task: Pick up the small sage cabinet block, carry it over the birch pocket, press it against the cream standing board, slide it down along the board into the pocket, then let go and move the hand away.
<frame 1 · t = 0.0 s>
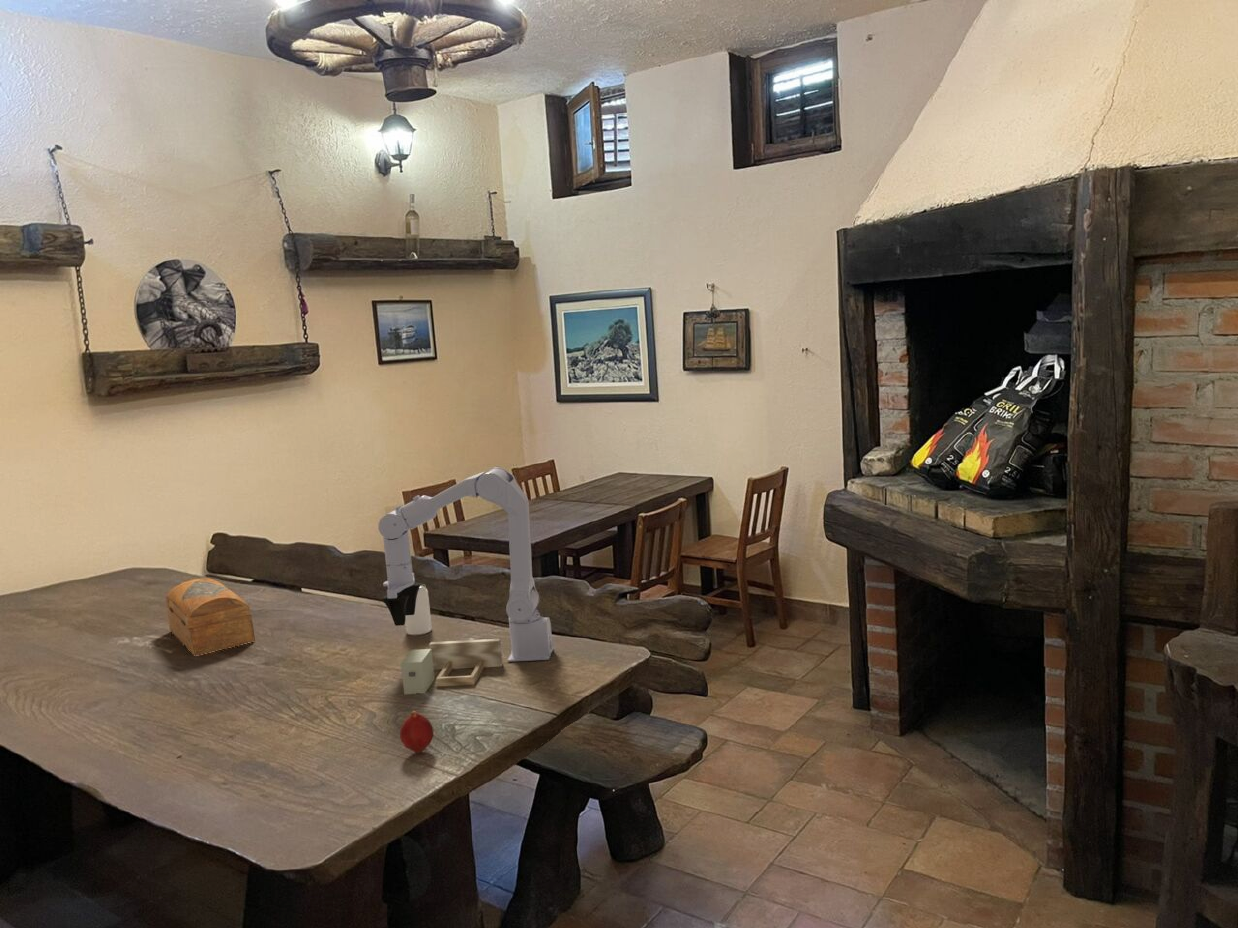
hand: (405, 619, 209), 10 cm above the table, tool pointing down, fingers open, 7 cm apart
wall board: (462, 674, 200), on the table
onion: (419, 753, 162), on the table
wooden box: (213, 638, 242), on the table
can: (419, 632, 233), on the table
cabinet block: (419, 686, 195), on the table
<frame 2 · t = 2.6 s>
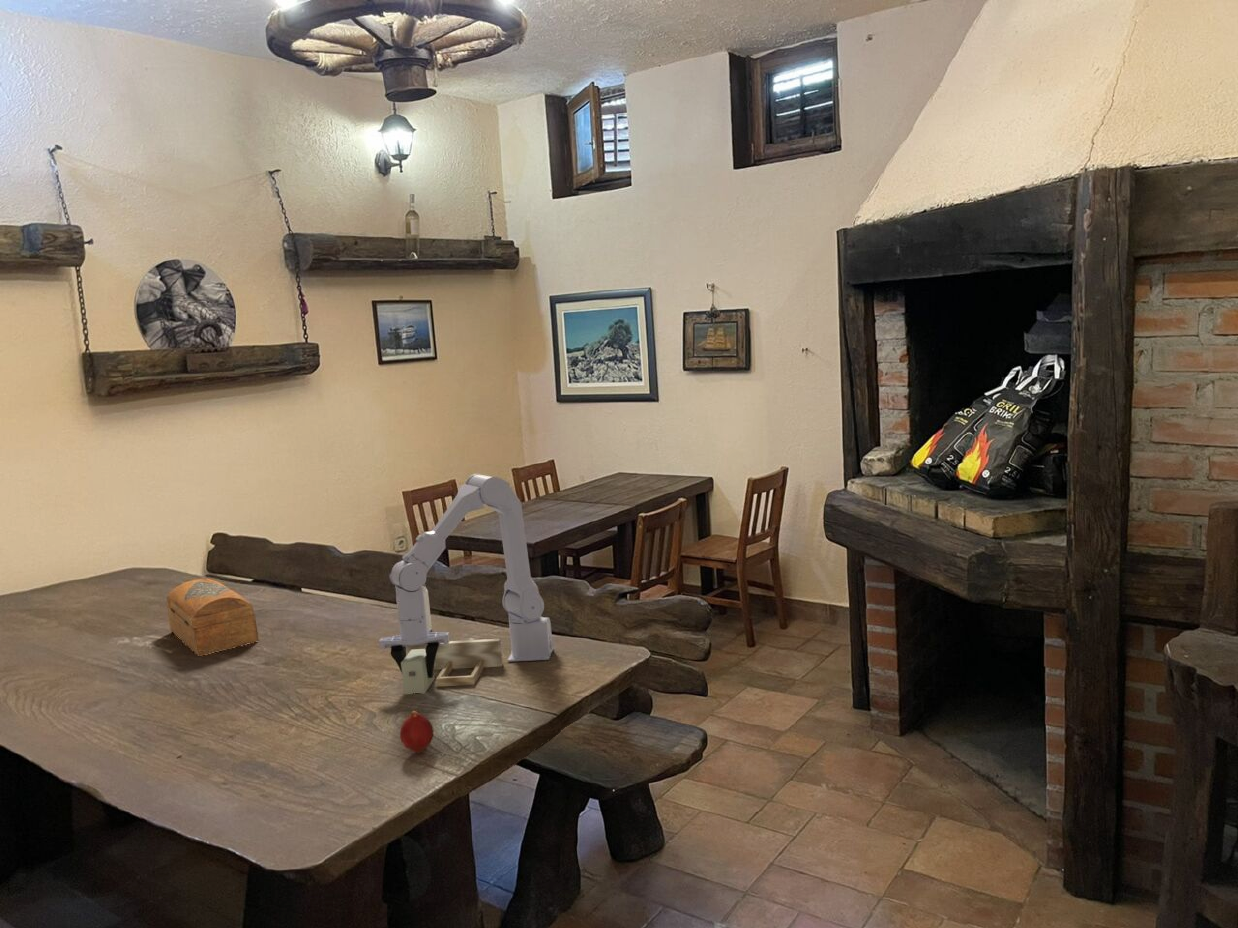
hand: (418, 677, 194), 2 cm above the table, tool pointing down, fingers closed on cabinet block, 5 cm apart
cabinet block: (419, 686, 195), on the table, touching gripper
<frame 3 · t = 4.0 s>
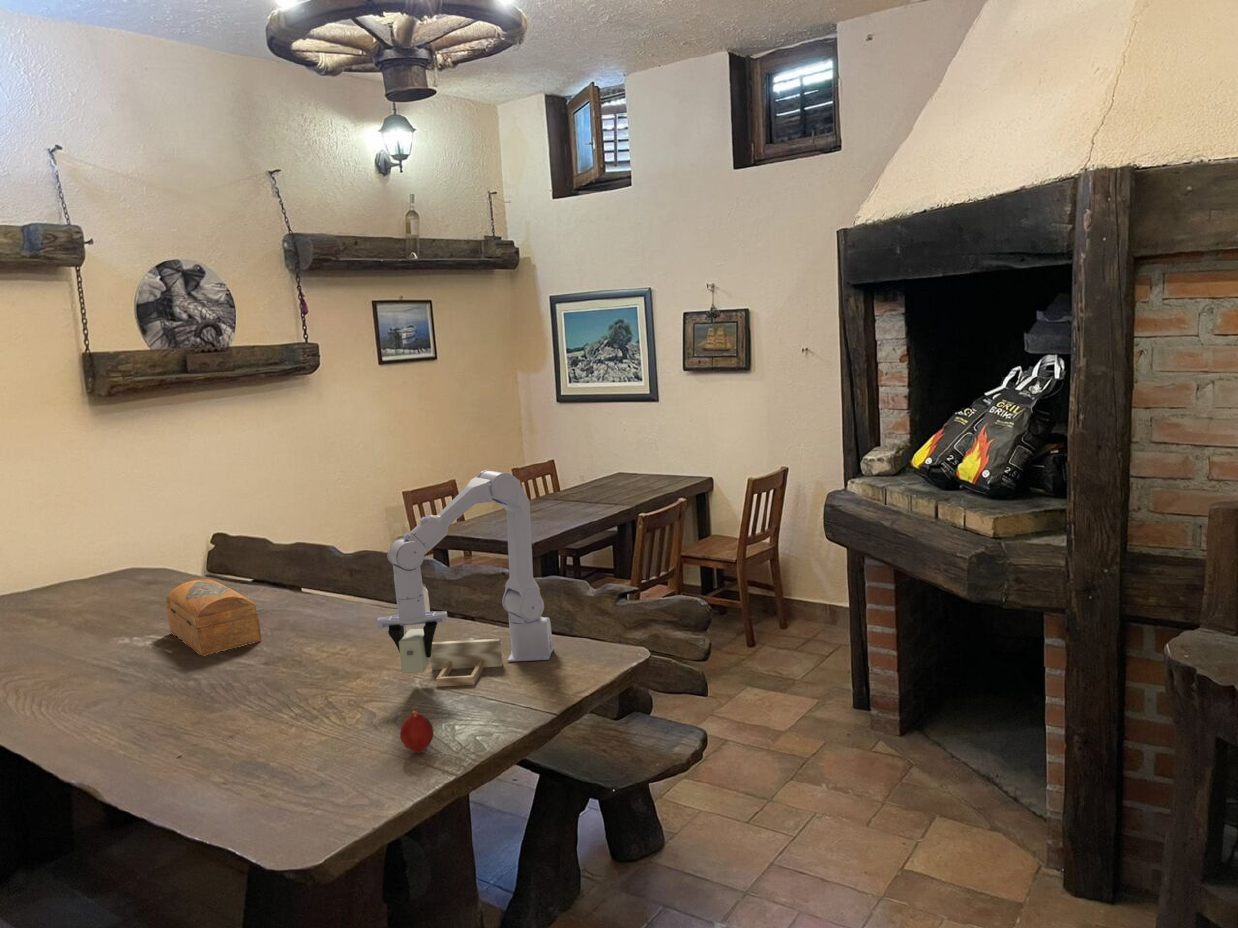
hand: (416, 656, 194), 7 cm above the table, tool pointing down, fingers closed on cabinet block, 5 cm apart
cabinet block: (417, 666, 194), point 5 cm above the table, touching gripper
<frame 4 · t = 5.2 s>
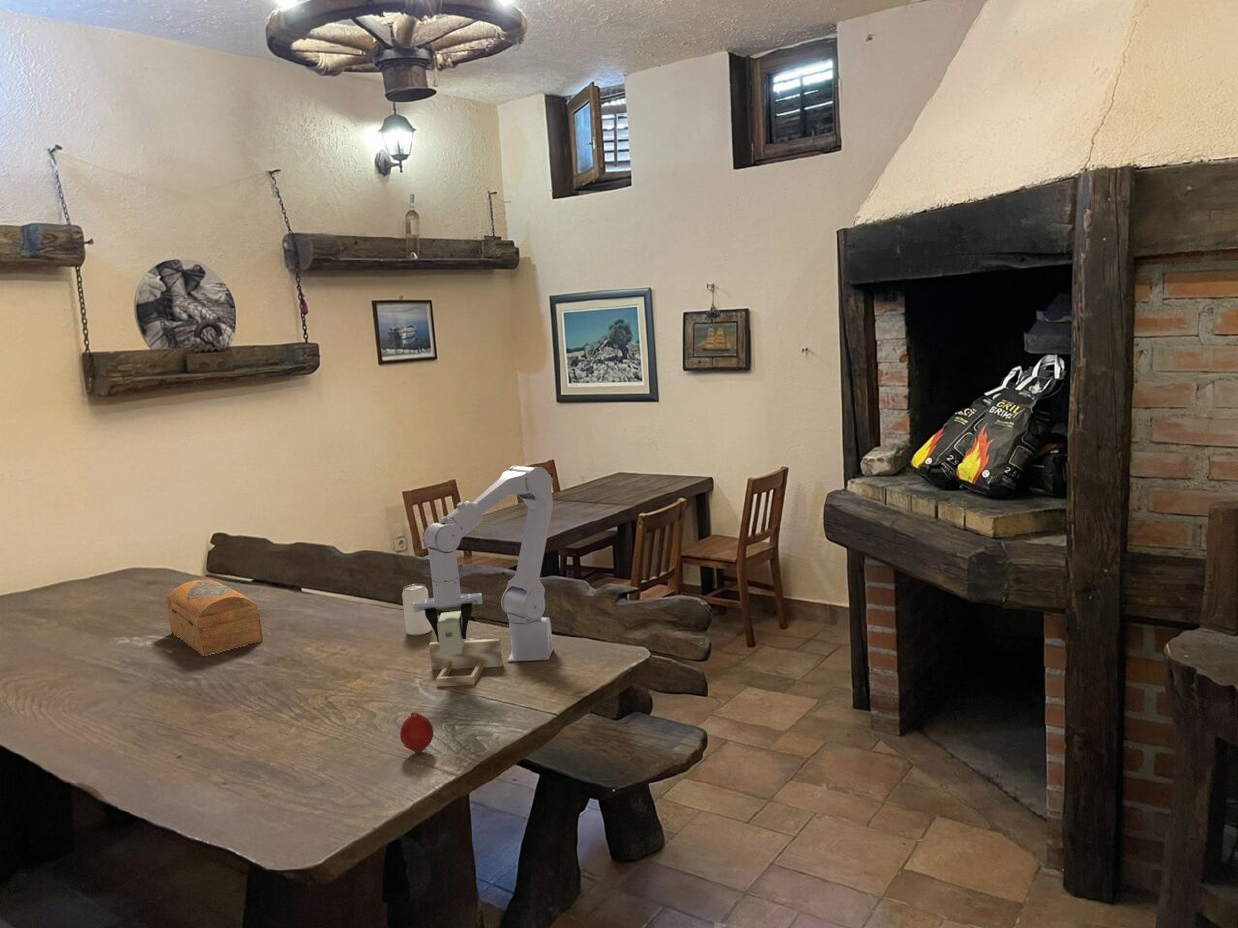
hand: (451, 639, 195), 9 cm above the table, tool pointing down, fingers closed on cabinet block, 5 cm apart
cabinet block: (452, 648, 195), point 7 cm above the table, touching gripper
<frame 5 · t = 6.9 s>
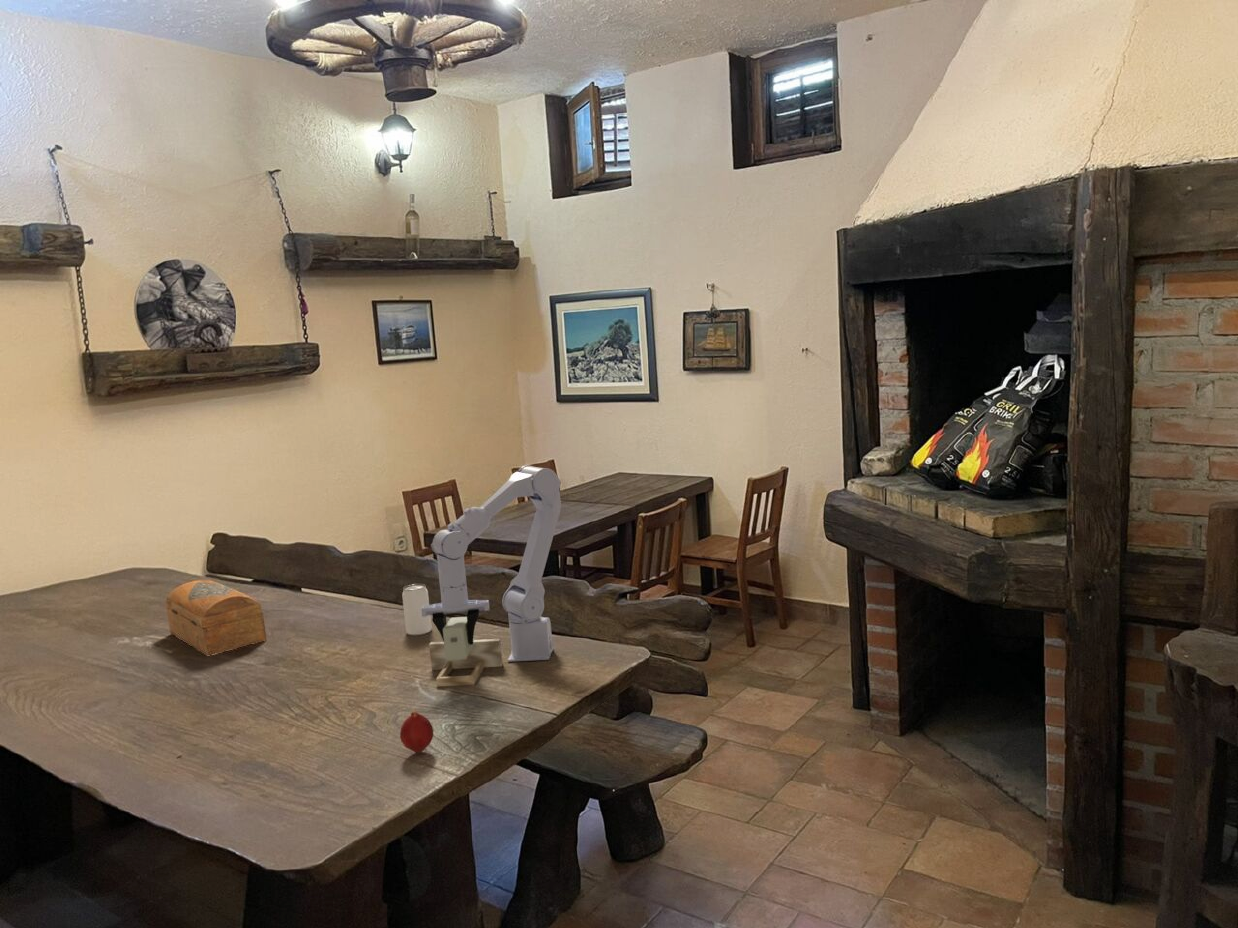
hand: (459, 644, 199), 7 cm above the table, tool pointing down, fingers closed on cabinet block, 5 cm apart
cabinet block: (460, 653, 199), point 5 cm above the table, touching gripper, wall board
when the fingers open (3 cm above the table, at t = 8.3 s): cabinet block drops 1 cm, resting in wall board.
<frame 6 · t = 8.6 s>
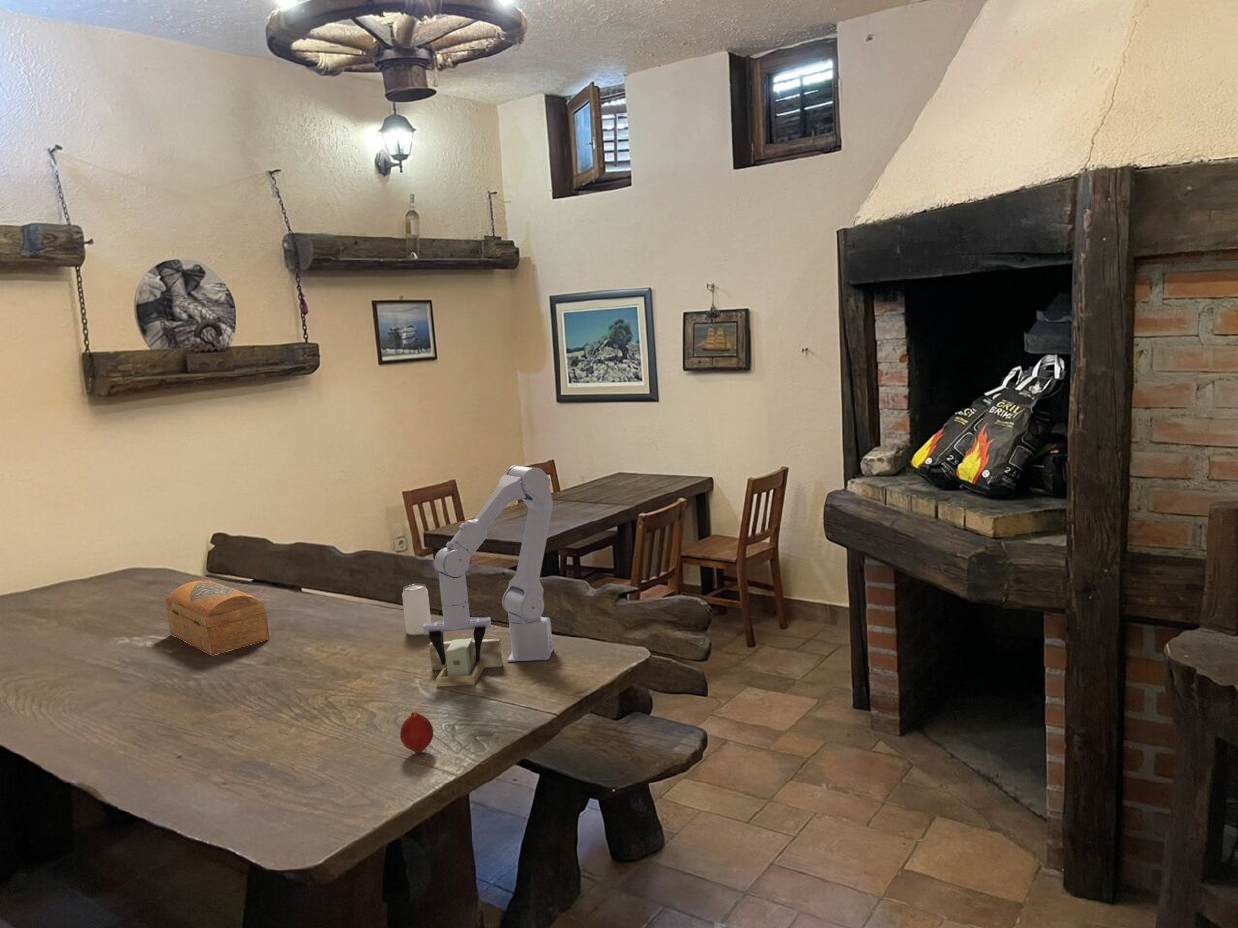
hand: (461, 661, 199), 3 cm above the table, tool pointing down, fingers open, 7 cm apart
cabinet block: (462, 675, 200), resting in wall board
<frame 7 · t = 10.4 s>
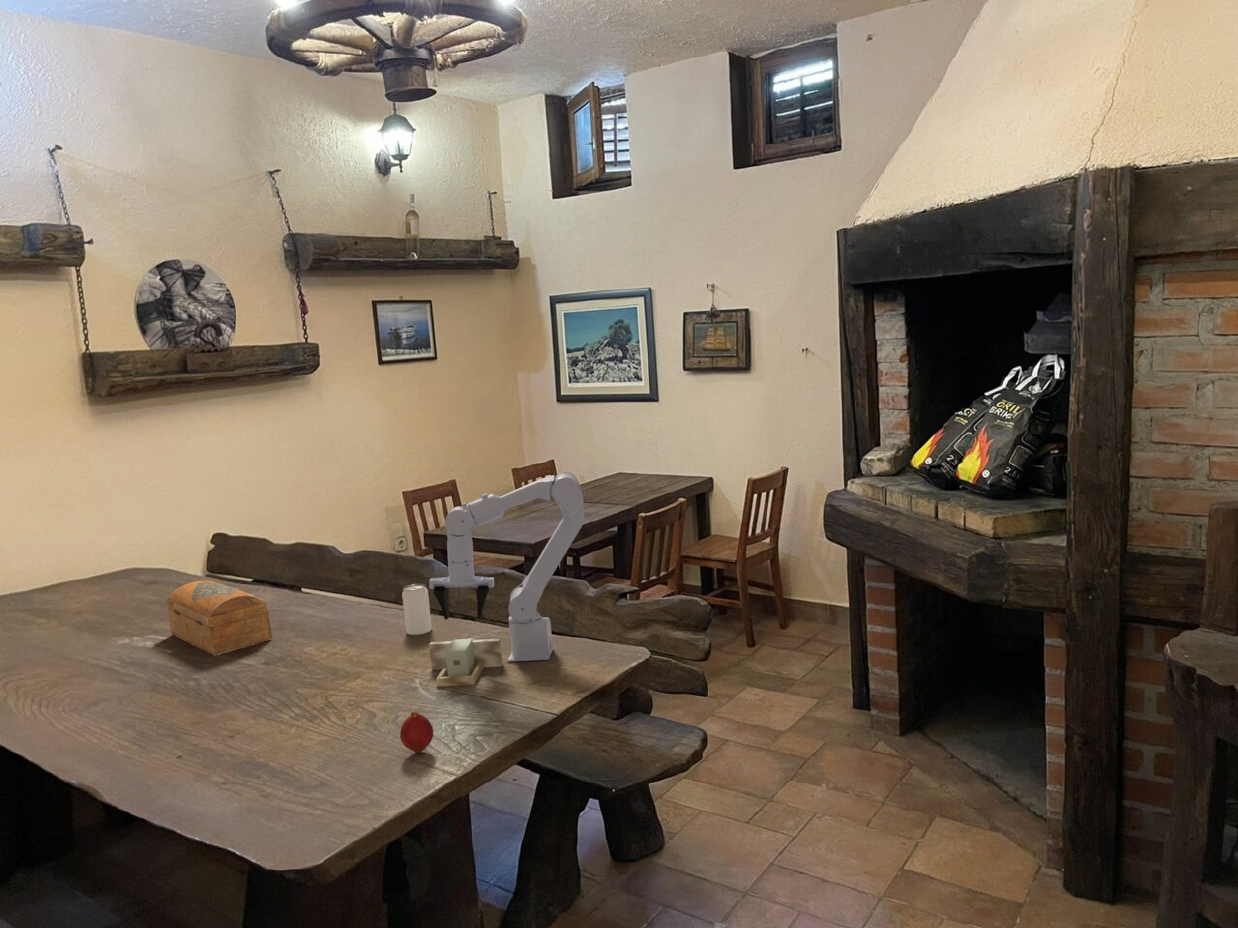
hand: (463, 617, 207), 10 cm above the table, tool pointing down, fingers open, 7 cm apart
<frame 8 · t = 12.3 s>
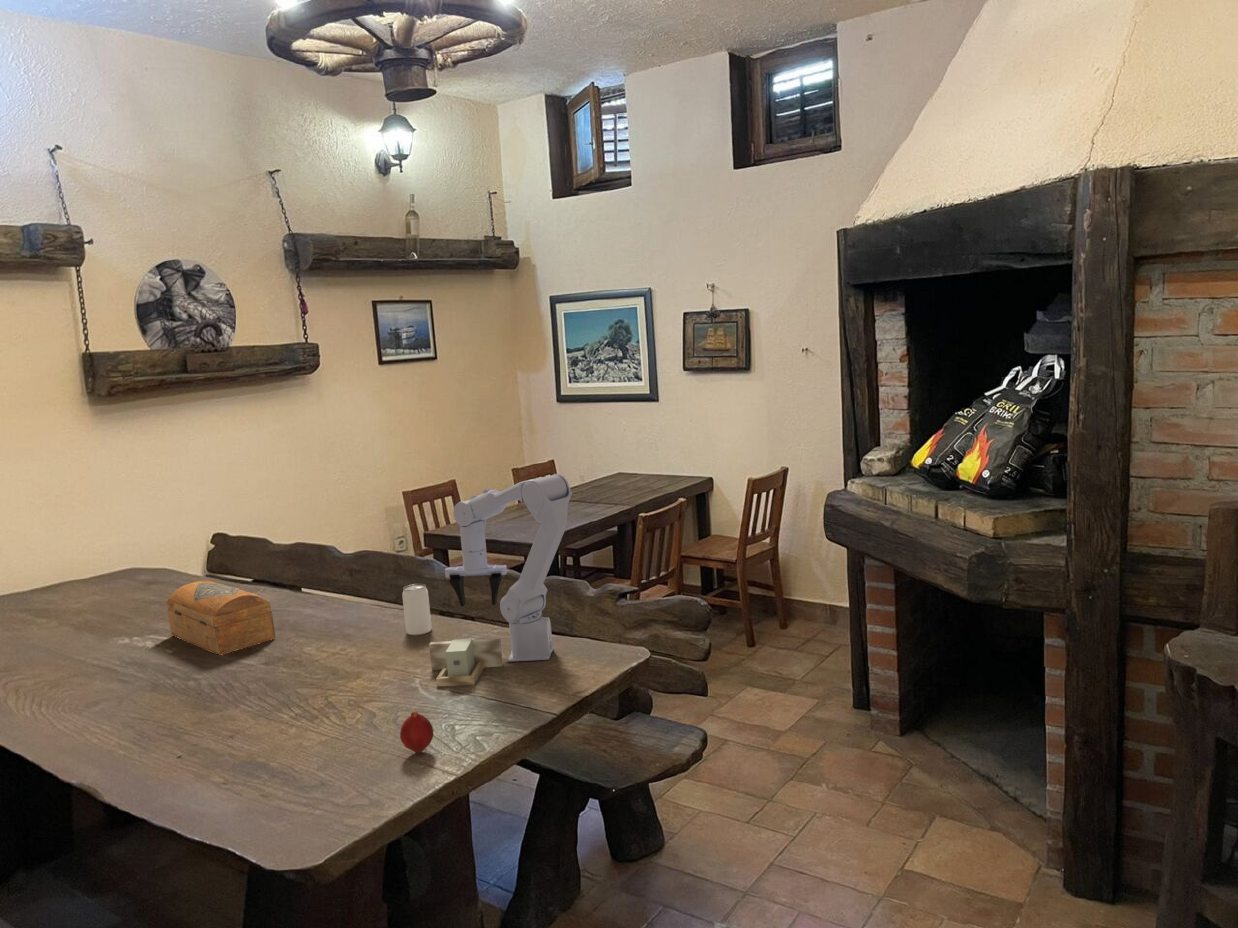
hand: (478, 604, 216), 10 cm above the table, tool pointing down, fingers open, 7 cm apart
at the end: cabinet block 0.1 cm off-centre on the wall board, point 0.0 cm above the wall board's base; cabinet block tilted 0°; the gripper is holding nothing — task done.
